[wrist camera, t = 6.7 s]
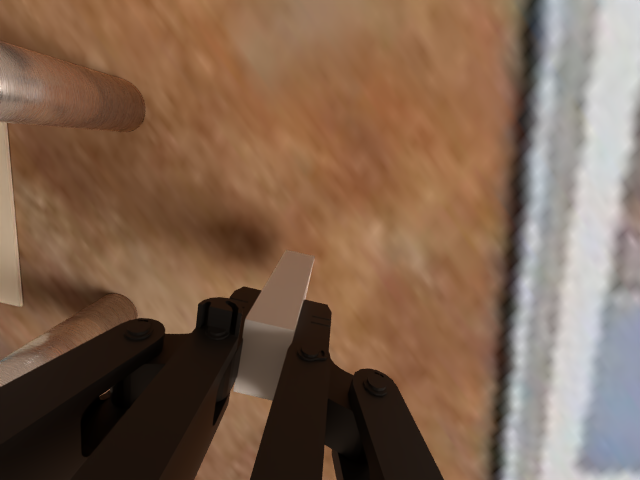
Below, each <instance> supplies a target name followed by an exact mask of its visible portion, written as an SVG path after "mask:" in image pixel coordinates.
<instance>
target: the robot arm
mask: <svg viewBox="0 0 640 480" xmlns="http://www.w3.org/2000/svg"><path fill="white" fill-rule="evenodd" d="M314 258H315V256H311V255H307V254H302V253H298V252H294V251H289V250H285V252H284V254H283V255H282V257H281V259H280V260H279V262H278V264H277V266H276V267H275V269H274V271H273V272H272V274H271V276H270V278H269V279H268V281H267V283H266V284H265V286H264V288H263V290H262V291H261V290H257V289H253V288H248V287H242V288H240V289H238V290H236V291H234V293H233V294H232V295H231V296H230V298H222V297H217V298H209V299H206V300H203V301H202V302H200V303H199V304H198V313H197V322H196V328H195V329H194V330H193V332H192V333H189V334H165V328H164V326H163V324H162V323H160V322H159V321H157V320H153V319H146V318H139V319H133V320H129V321H126V322H123V323H121V324H119V325H117V326H115V327H113V328H111V329H109V330H107V331H106V332H104V333H102V334H100V335H98V336H96V337H94V338H92V339H90V340H88V341H87V342H85V343H83V344H81V345H79V346H77V347H75V348H73V349H71V350H69V351H68V352H66V353H64V354H62V355H60V356H58V357H56V358H54V359H52V360H50V361H49V362H47V363H45V364H43V365H41V366H39V367H37V368H35V369H33V370H31V371H30V372H28V373H26V374H24V375H22V376H20V377H18V378H16V379H14V380H12V381H10V382H9V383H7V384H5V385H3V386H1V387H0V480H194V479H195V476H196V474H197V472H198V470H199V468H200V465H201V463H202V461H203V459H204V457H205V454H206V452H207V450H208V448H209V446H210V443H211V441H212V439H213V437H214V434H215V432H216V430H217V428H218V426H219V423H220V421H221V419H222V417H223V415H224V412H225V410H226V408H227V406H228V402H229V396H230V391H231V389H232V387H233V384H234V382H235V386H234V392H238V393H243V394H247V395H251V396H255V397H260V398H264V399H268V400H272V401H273V402H272V405H271V409H270V412H269V416H268V419H267V423H266V426H265V429H264V433H263V436H262V440H261V443H260V447H259V450H258V454H257V457H256V461H255V464H254V468H253V471H252V474H251V478H250V480H322V472H323V458H324V444H325V445H326V446H328V447H330V448H331V449H332V458H333V463H334V468H335V473H336V478H337V480H444V479H443V477H442V475H441V473H440V471H439V469H438V467H437V465H436V463H435V461H434V459H433V457H432V455H431V453H430V451H429V449H428V447H427V445H426V443H425V441H424V439H423V437H422V435H421V433H420V431H419V429H418V427H417V425H416V423H415V421H414V419H413V417H412V415H411V413H410V411H409V409H408V407H407V405H406V403H405V401H404V399H403V397H402V395H401V393H400V391H399V389H398V387H397V386H396V384H395V383H394V382H393V380H392V379H391V378H389V377H388V376H387V375H386V374H384V373H382V372H379V371H377V370H373V369H360V370H359V371H357V372H355V374H354V375H352V374H350V373H347V372H345V371H344V370H342V369H340V368H339V367H338V366H337V365H335V364H334V362H333V361H332V360H331V358H330V353H329V339H330V326H331V313H332V312H331V310H330V309H329V307H328V305H326V304H322V303H317V302H313V301H309V300H305V298H306V294H307V289H308V285H309V280H310V276H311V271H312V267H313V262H314ZM109 389H110V390H109ZM107 390H109V391H108V392H107V393H105V394H103V393H104V392H106V391H107ZM102 394H103V395H102ZM100 395H101V396H100Z"/></svg>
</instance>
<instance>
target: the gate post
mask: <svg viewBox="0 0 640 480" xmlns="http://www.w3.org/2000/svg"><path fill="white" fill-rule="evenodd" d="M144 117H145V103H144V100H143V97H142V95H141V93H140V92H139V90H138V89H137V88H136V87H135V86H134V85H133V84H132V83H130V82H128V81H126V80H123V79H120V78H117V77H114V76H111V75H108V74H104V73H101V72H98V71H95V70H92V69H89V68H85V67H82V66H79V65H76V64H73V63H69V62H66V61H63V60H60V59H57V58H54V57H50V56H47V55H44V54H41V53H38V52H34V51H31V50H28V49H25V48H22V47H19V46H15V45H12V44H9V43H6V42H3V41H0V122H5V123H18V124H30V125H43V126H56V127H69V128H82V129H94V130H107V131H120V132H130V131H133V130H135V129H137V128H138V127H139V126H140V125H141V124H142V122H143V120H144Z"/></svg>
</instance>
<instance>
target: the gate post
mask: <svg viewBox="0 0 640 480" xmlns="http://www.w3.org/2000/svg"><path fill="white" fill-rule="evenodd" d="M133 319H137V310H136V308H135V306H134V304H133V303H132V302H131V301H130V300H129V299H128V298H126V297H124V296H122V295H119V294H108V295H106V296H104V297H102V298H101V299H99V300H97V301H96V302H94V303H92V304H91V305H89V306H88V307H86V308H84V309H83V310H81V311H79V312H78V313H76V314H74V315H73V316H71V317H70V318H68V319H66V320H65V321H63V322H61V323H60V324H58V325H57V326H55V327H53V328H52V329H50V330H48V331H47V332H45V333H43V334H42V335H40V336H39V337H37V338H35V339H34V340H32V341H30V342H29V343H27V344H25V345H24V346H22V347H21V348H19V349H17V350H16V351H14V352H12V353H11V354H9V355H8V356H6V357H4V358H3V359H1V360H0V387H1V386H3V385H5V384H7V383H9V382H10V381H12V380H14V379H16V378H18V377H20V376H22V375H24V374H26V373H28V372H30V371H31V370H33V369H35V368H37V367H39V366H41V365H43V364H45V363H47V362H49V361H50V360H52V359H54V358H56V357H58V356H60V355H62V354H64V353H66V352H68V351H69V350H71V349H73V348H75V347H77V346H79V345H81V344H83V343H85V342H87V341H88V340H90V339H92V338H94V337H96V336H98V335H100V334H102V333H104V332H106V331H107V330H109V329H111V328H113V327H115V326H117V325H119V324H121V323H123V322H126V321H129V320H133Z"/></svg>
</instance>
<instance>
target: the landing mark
mask: <svg viewBox="0 0 640 480" xmlns="http://www.w3.org/2000/svg"><path fill="white" fill-rule="evenodd" d="M0 302H1V303H6V304H10V305H14V306H18V307H21V306H23V299H22V288H21V276H20V265H19V254H18V242H17V231H16V220H15V208H14V197H13V186H12V174H11V163H10V152H9V140H8V129H7V123H5V122H0Z"/></svg>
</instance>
